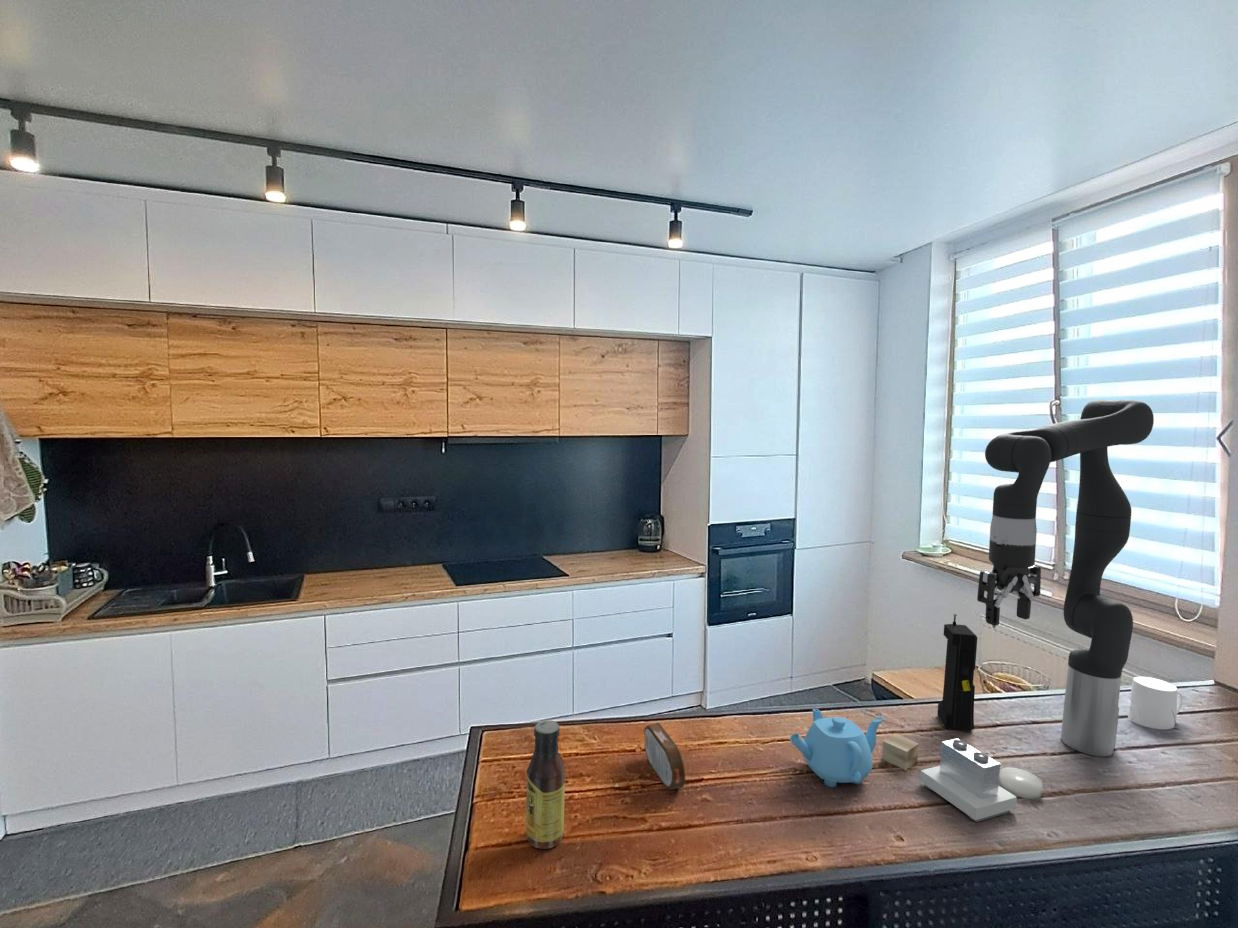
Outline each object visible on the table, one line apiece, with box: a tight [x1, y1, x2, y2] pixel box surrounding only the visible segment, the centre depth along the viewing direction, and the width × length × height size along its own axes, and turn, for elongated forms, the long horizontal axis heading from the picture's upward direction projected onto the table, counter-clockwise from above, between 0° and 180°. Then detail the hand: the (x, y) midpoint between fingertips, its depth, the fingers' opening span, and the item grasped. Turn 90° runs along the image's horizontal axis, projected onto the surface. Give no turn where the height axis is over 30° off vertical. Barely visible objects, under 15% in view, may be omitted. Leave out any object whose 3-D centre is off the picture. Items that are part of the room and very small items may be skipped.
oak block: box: [881, 733, 919, 771], centre depth 128 cm, size 5×5×4 cm
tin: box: [643, 722, 686, 791], centre depth 120 cm, size 15×3×8 cm, turn 19°
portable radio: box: [937, 613, 978, 732], centre depth 142 cm, size 8×6×25 cm
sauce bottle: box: [525, 719, 566, 850], centre depth 101 cm, size 6×6×20 cm
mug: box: [1127, 676, 1184, 730], centre depth 147 cm, size 12×9×8 cm
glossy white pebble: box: [999, 766, 1043, 800], centre depth 120 cm, size 7×7×2 cm
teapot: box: [789, 708, 885, 788], centre depth 122 cm, size 15×14×11 cm
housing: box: [939, 737, 1001, 799], centre depth 115 cm, size 4×9×7 cm, turn 21°
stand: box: [919, 765, 1018, 823], centre depth 116 cm, size 10×12×3 cm
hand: (1007, 621), depth 121 cm, fingers open, 8 cm apart
